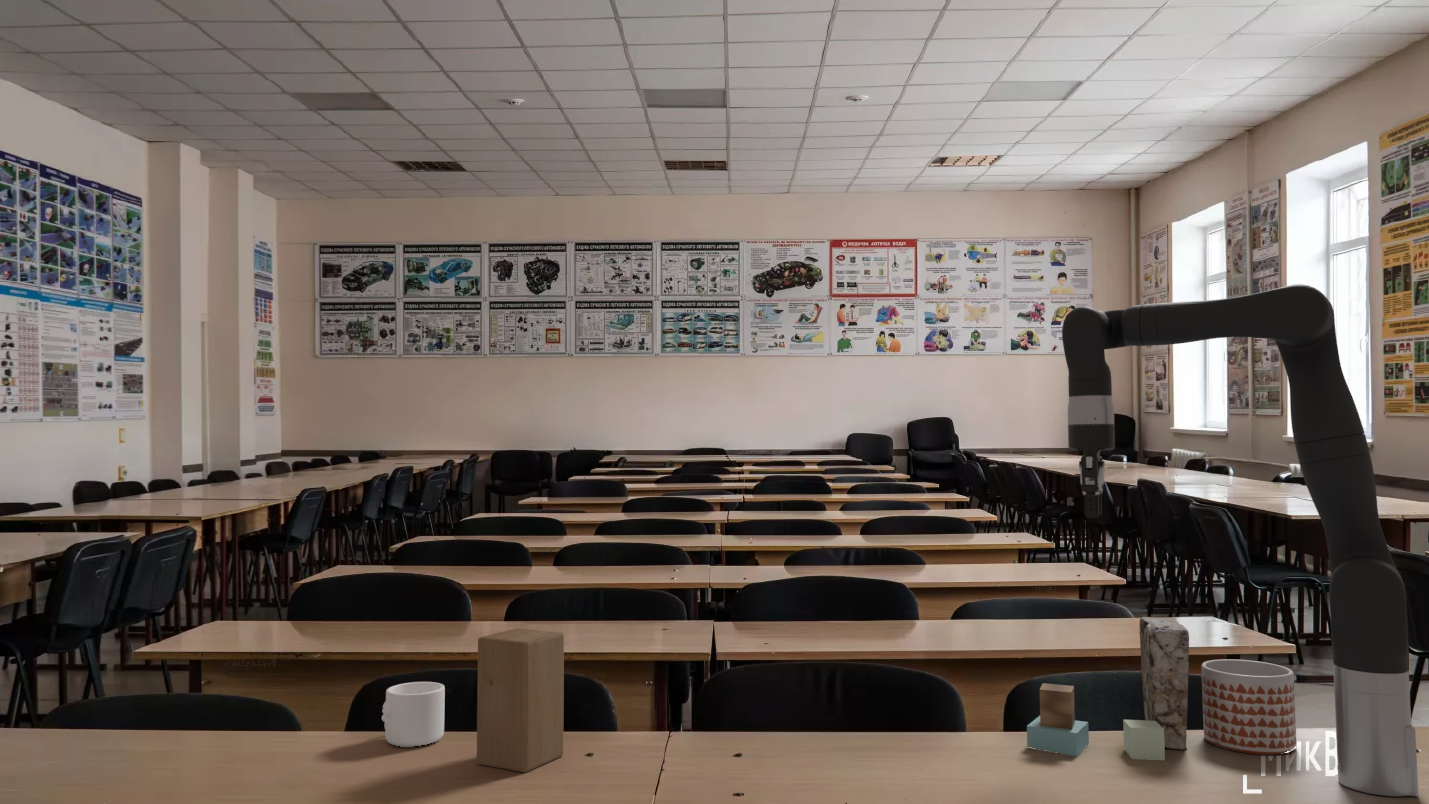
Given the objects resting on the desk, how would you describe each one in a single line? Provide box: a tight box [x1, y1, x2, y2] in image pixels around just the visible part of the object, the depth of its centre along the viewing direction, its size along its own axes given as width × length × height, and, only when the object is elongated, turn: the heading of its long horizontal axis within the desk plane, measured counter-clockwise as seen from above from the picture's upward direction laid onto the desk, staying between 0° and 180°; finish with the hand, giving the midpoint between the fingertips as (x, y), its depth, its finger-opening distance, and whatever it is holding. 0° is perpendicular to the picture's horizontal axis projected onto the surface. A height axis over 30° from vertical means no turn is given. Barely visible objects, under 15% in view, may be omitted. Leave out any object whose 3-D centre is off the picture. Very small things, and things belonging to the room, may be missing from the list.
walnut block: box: [1039, 683, 1076, 729], centre depth 162 cm, size 5×5×6 cm
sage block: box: [1122, 719, 1166, 761], centre depth 157 cm, size 5×5×5 cm
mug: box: [381, 681, 446, 748], centre depth 167 cm, size 12×10×9 cm
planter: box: [1201, 658, 1297, 756], centre depth 163 cm, size 14×14×13 cm
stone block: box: [1139, 616, 1190, 751], centre depth 166 cm, size 13×7×20 cm, turn 171°
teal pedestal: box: [1026, 715, 1090, 757], centre depth 162 cm, size 8×8×4 cm
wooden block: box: [476, 627, 565, 774], centre depth 156 cm, size 10×10×20 cm
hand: (1093, 516), depth 167 cm, fingers open, 8 cm apart
